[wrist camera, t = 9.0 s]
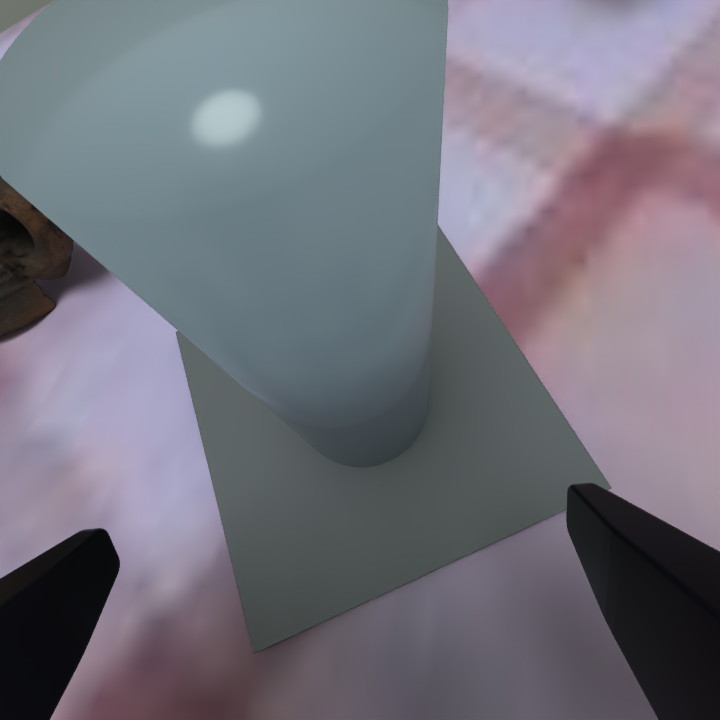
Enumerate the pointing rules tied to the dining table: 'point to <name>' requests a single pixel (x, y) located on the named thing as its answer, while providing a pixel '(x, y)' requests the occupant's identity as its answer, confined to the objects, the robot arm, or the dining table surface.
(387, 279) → the tumbler
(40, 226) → the brown black curved piece
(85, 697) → the dining table surface
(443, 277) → the coaster mat
